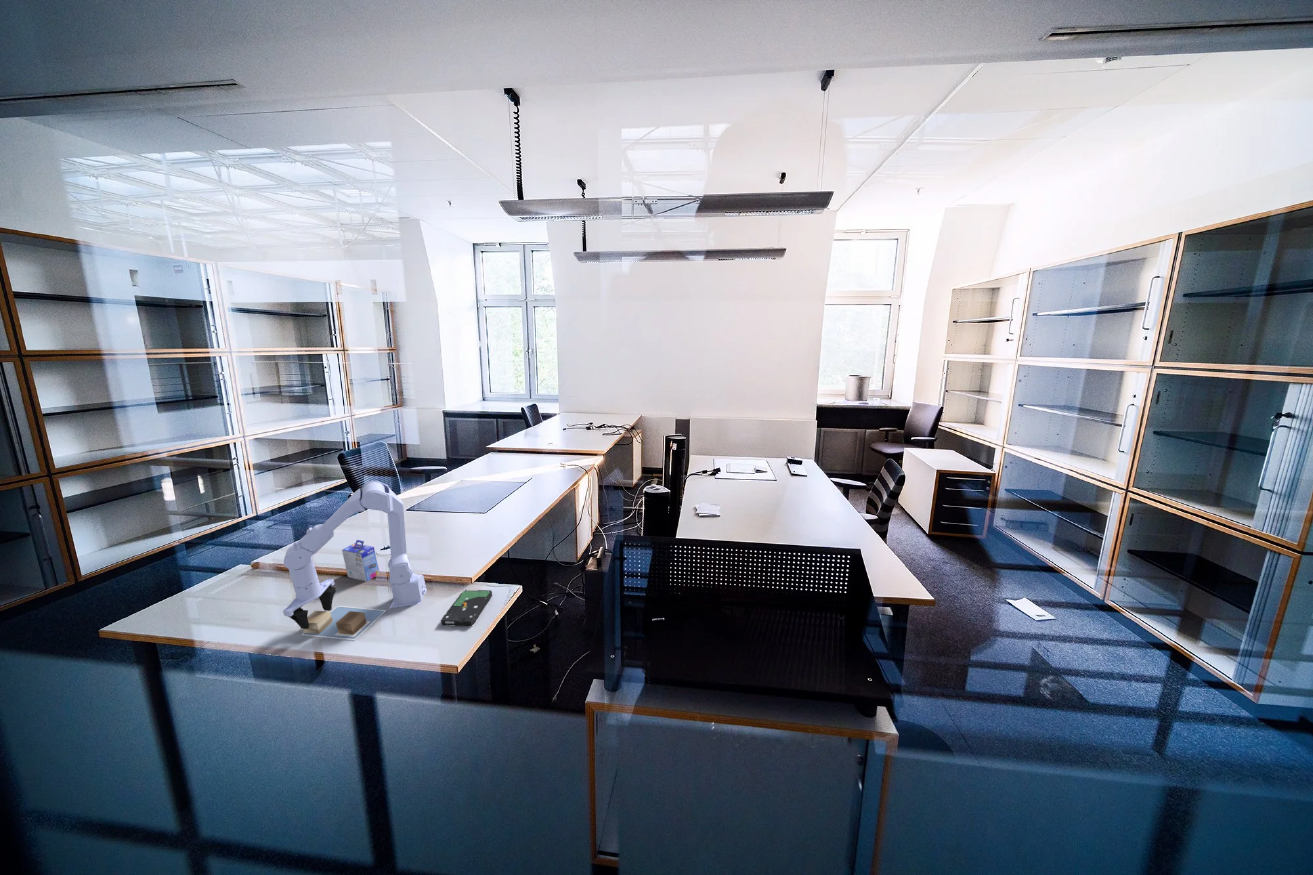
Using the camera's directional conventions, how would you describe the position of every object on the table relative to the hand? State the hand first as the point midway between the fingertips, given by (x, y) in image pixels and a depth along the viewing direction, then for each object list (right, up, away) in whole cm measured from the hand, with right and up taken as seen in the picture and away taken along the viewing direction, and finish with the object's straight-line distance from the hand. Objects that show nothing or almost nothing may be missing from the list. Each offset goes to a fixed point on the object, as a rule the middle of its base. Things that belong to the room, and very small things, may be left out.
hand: (316, 618), depth 123 cm
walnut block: (+11, -3, +1) cm, 11 cm away
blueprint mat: (+6, -3, +4) cm, 8 cm away
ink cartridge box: (-5, +4, +27) cm, 27 cm away
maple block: (0, -3, +1) cm, 4 cm away
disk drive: (+43, -2, +10) cm, 44 cm away
